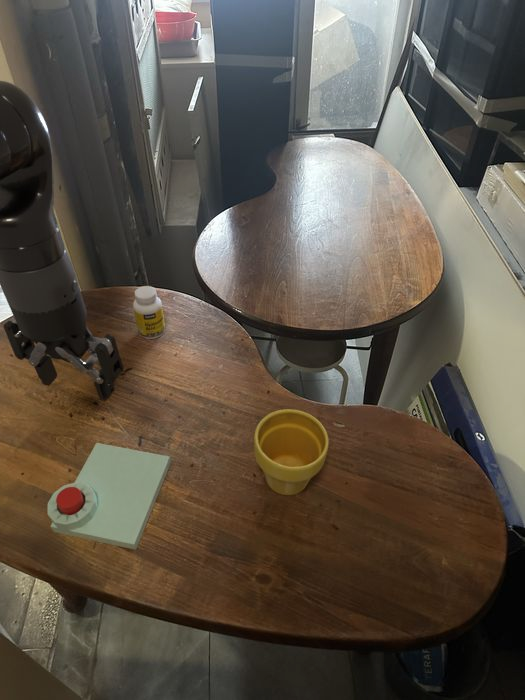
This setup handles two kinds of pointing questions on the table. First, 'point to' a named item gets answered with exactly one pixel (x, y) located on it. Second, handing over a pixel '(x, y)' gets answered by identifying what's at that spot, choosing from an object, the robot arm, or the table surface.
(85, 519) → the pale green flat piece
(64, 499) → the button
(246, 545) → the table surface
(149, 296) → the supplement bottle
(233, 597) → the table surface
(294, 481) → the flower pot
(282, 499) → the table surface
